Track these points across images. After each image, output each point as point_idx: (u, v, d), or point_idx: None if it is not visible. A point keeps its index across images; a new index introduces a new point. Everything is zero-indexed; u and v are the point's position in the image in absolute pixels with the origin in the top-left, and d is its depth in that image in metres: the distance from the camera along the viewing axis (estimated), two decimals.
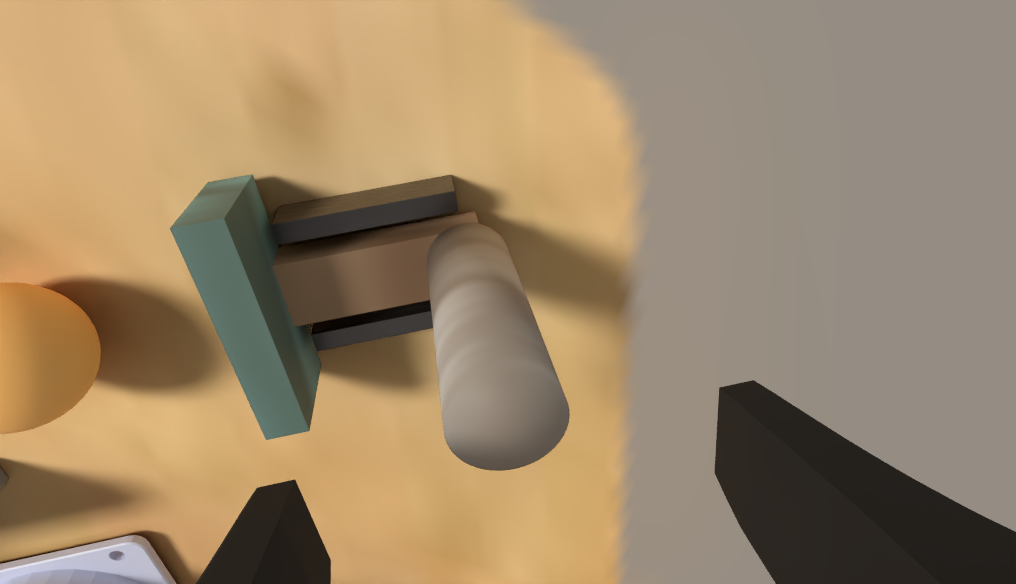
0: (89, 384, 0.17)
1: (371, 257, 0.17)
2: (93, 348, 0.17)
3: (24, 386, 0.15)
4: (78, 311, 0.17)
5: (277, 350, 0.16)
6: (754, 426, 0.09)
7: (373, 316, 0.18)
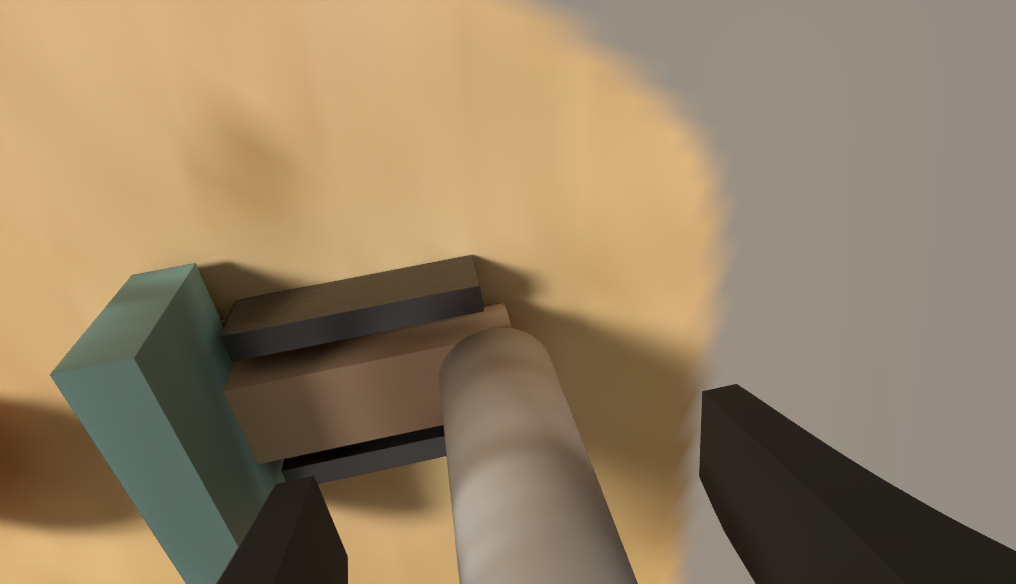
0: None
1: (362, 375, 0.12)
2: None
3: None
4: None
5: (226, 523, 0.11)
6: (735, 430, 0.09)
7: (365, 441, 0.14)
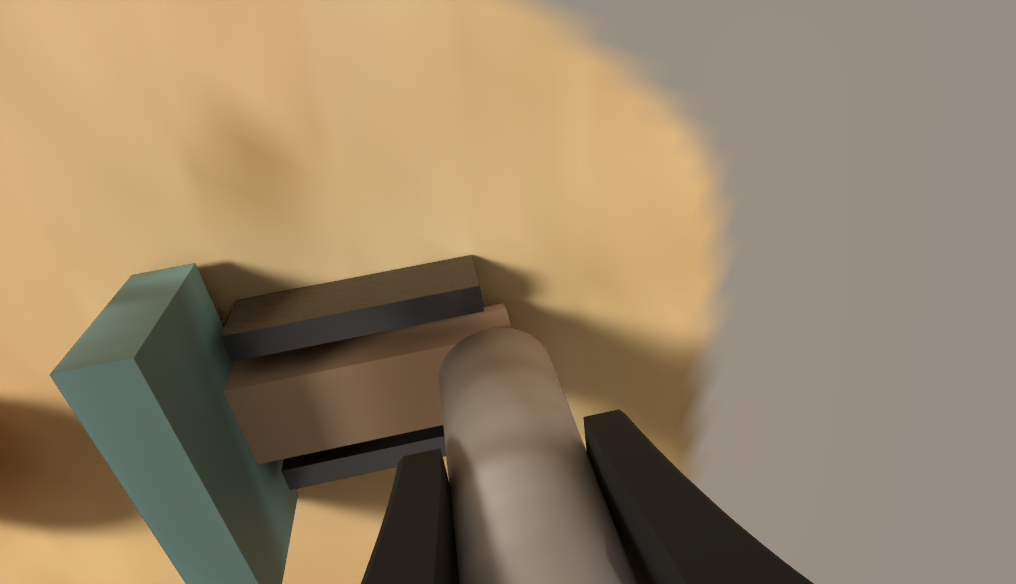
0: None
1: (362, 375, 0.12)
2: None
3: None
4: None
5: (225, 523, 0.11)
6: (604, 460, 0.09)
7: (365, 441, 0.14)
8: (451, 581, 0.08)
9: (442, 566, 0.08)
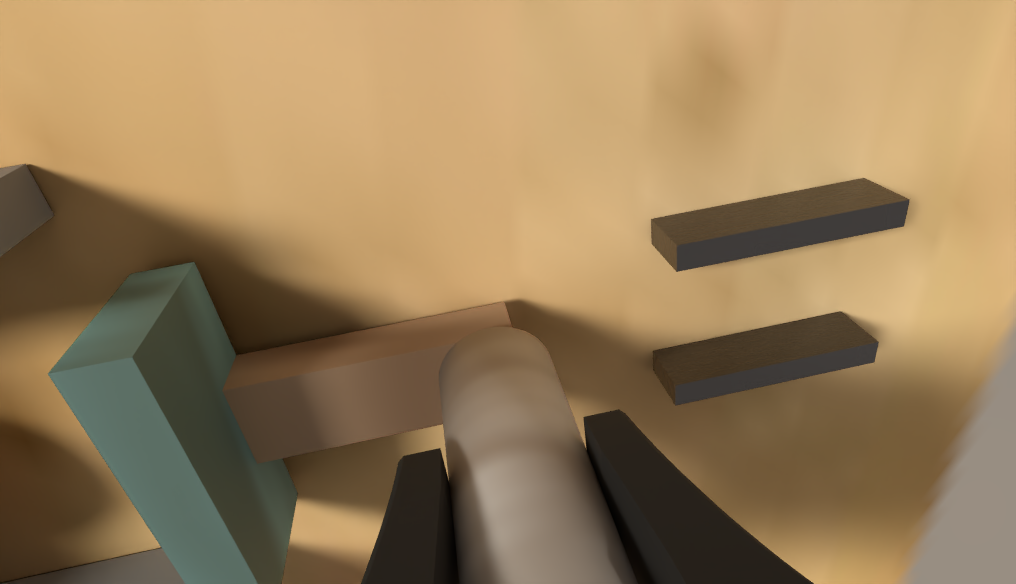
0: None
1: (362, 374, 0.12)
2: None
3: None
4: None
5: (225, 522, 0.11)
6: (604, 459, 0.09)
7: (743, 359, 0.14)
8: (451, 581, 0.08)
9: (442, 566, 0.08)
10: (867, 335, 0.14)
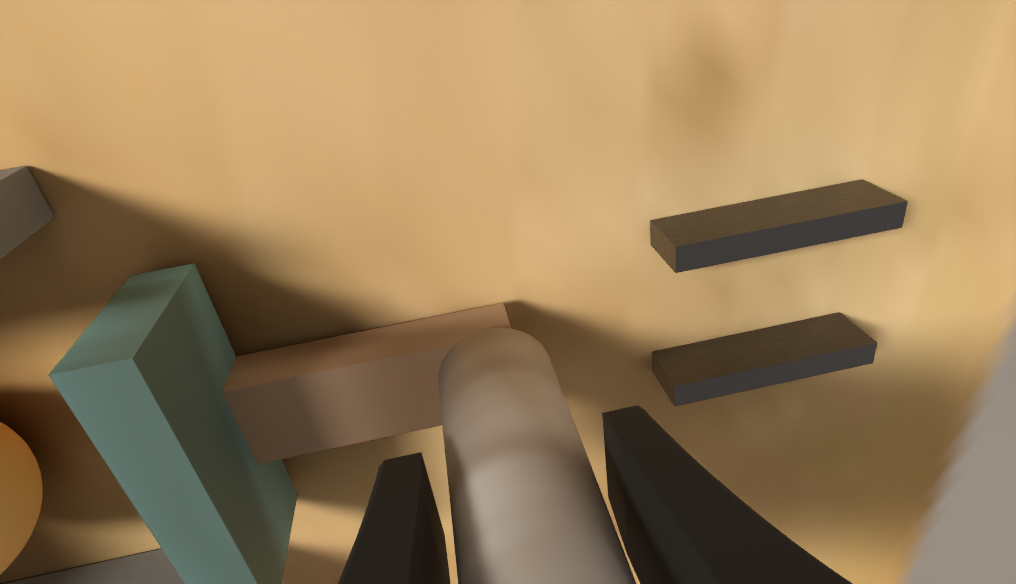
0: None
1: (361, 375, 0.12)
2: None
3: None
4: None
5: (224, 523, 0.11)
6: (625, 455, 0.09)
7: (742, 360, 0.14)
8: None
9: (418, 571, 0.08)
10: (866, 336, 0.14)
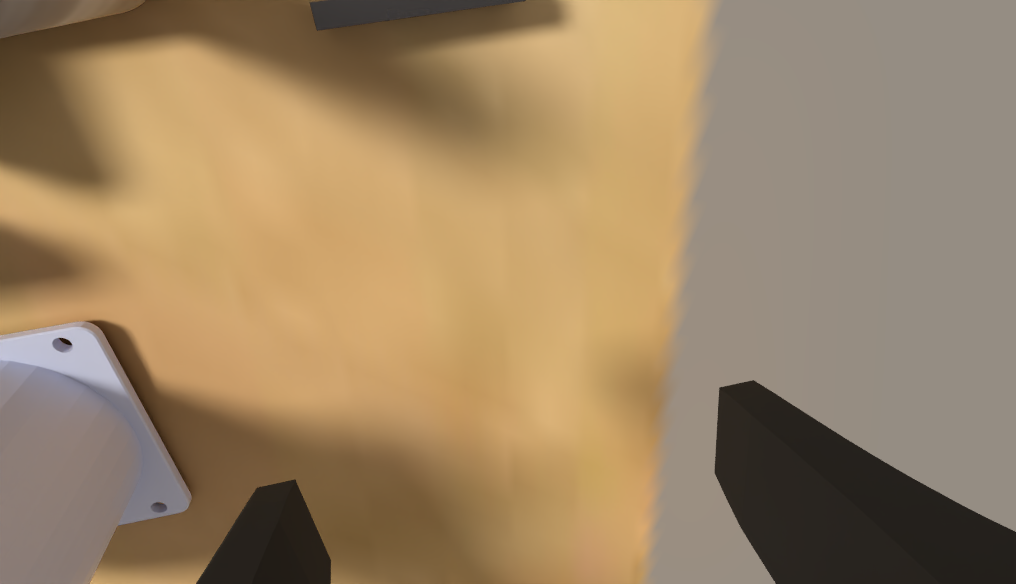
0: None
1: None
2: None
3: None
4: None
5: None
6: (754, 426, 0.09)
7: None
8: None
9: None
10: None
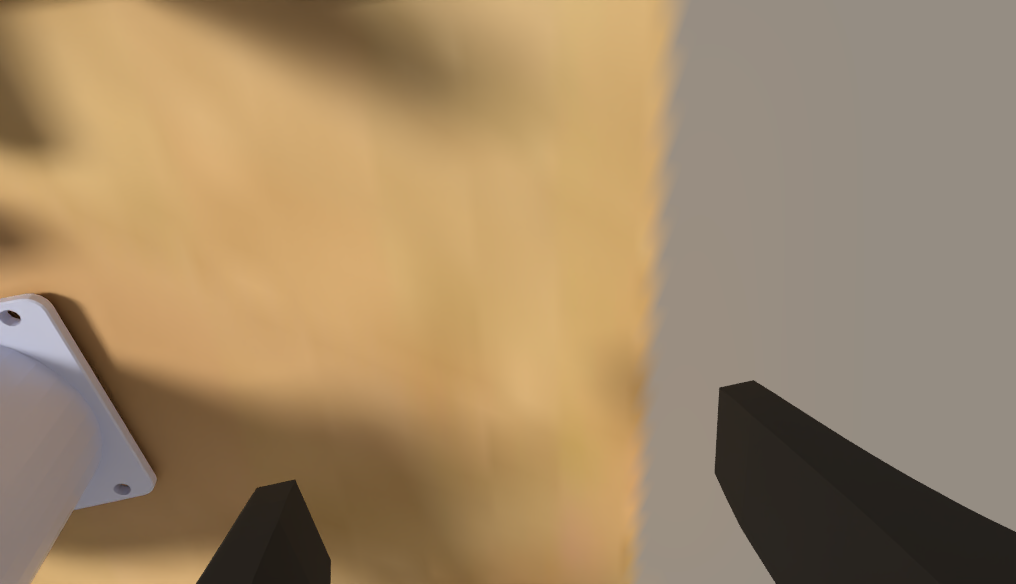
0: None
1: None
2: None
3: None
4: None
5: None
6: (754, 426, 0.09)
7: None
8: None
9: None
10: None
